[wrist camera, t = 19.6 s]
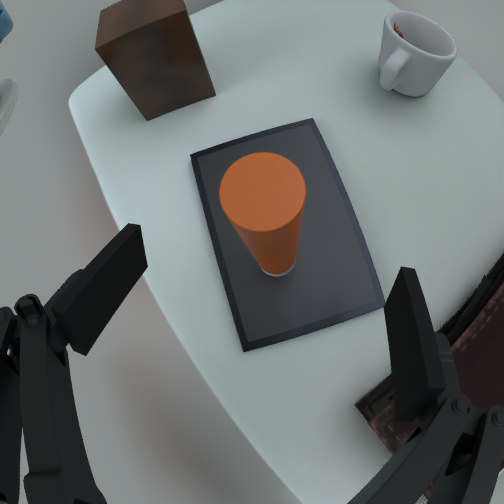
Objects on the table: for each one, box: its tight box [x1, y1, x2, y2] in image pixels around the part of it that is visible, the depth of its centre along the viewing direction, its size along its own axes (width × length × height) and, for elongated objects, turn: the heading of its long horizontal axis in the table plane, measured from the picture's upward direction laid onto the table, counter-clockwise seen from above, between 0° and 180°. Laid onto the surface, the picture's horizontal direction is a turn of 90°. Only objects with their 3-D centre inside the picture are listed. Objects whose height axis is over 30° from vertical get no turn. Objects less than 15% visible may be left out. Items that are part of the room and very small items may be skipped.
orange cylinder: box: [219, 152, 306, 277], centre depth 17 cm, size 3×3×14 cm
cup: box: [379, 11, 458, 97], centre depth 23 cm, size 11×8×8 cm
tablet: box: [190, 118, 385, 352], centre depth 25 cm, size 12×18×1 cm, turn 16°
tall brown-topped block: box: [95, 0, 216, 121], centre depth 24 cm, size 8×8×12 cm
